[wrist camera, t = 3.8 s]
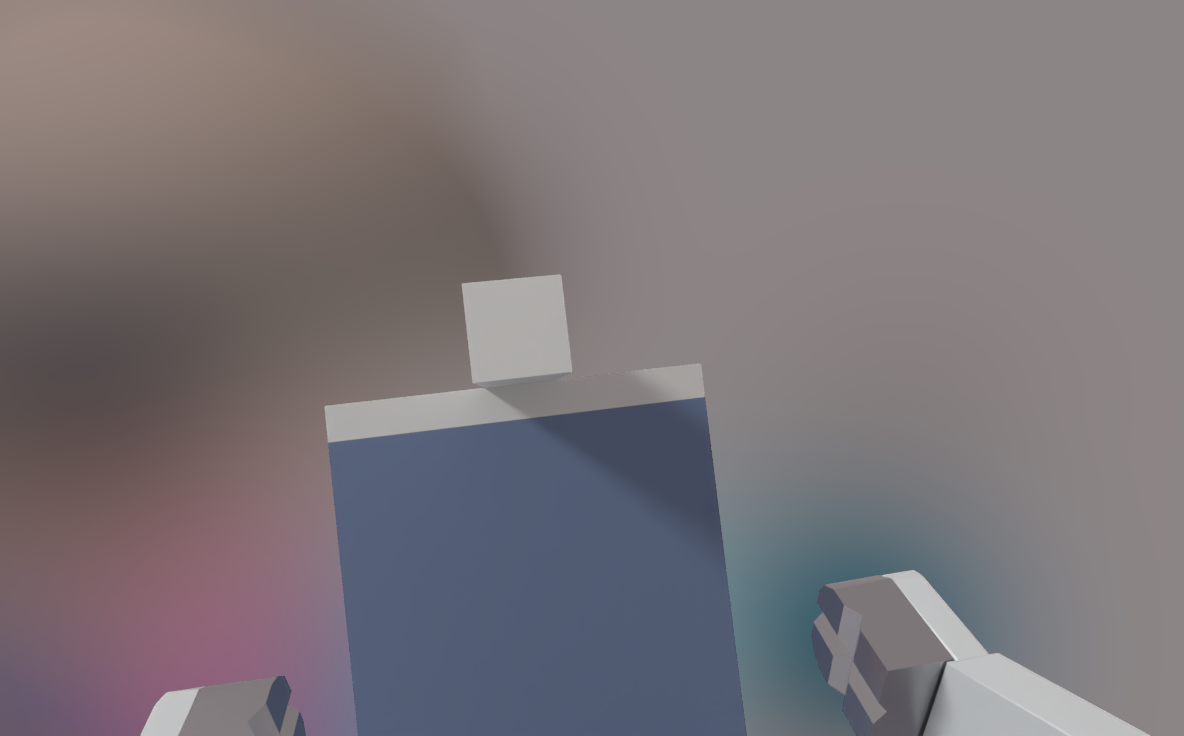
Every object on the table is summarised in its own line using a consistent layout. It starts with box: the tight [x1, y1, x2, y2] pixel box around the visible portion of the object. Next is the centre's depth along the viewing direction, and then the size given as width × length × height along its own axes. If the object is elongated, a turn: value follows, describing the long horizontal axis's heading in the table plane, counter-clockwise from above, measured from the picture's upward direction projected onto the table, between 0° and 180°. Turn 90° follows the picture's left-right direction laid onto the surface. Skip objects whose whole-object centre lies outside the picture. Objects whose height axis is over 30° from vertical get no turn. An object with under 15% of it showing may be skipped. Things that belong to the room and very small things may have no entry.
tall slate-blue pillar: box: [325, 363, 746, 736], centre depth 32 cm, size 12×16×26 cm
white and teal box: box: [462, 275, 572, 388], centre depth 29 cm, size 20×4×3 cm, turn 7°
